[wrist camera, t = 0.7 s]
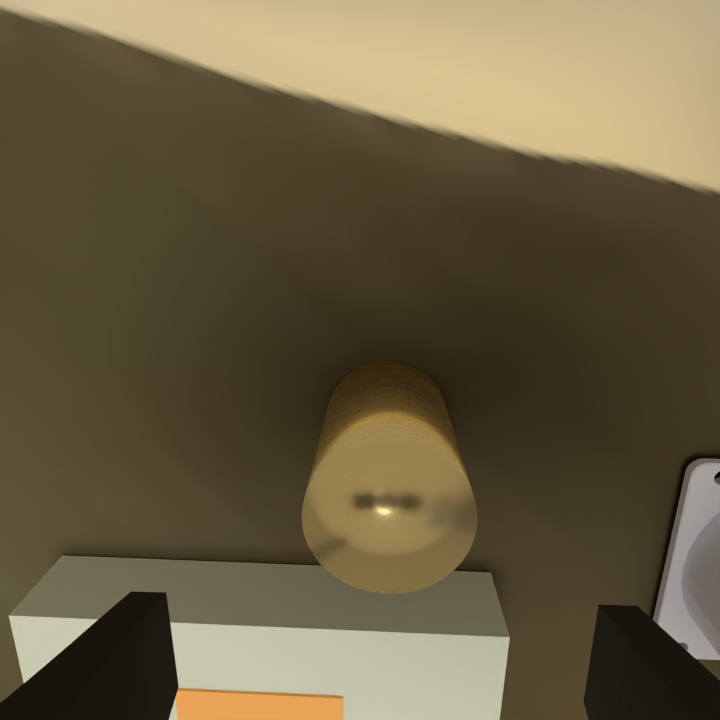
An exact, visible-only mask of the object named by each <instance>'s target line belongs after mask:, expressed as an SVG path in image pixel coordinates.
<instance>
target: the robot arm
mask: <svg viewBox="0 0 720 720" xmlns="http://www.w3.org/2000/svg"><path fill="white" fill-rule="evenodd" d="M718 472H720V459H706V458H703V459H697V460H695V461H693V462H692V463H691V464H690V465H689V466H688V467H687V469H686V471H685V476H684V480H683V485H682V490H681V494H680V499H679V503H678V508H677V512H676V517H675V521H674V526H673V530H672V535H671V539H670V544H669V549H668V553H667V558H666V562H665V567H664V571H663V576H662V580H661V585H660V589H659V594H658V598H657V603H656V608H655V612H654V617H653V620H652V619H651V618H650V617H649V616H648V615H647V614H646V613H645V612H643V611H642V610H641V609H640V608H639V607H638V606H621V605H599V607H598V614H597V620H596V626H595V633H594V639H593V645H592V652H591V658H590V664H589V671H588V677H587V683H586V690H585V696H584V704H585V708H586V711H587V715H588V718H589V720H720V681H719V680H718V679H717V678H716V677H715V676H714V675H713V674H712V673H711V672H710V671H708V670H707V669H706V668H705V667H704V666H703V665H702V664H701V663H700V662H699V661H697V660H696V659H710V660H720V477H719V478H716V479H714V477H715V475H716V474H717V473H718ZM679 643H680V644H679ZM178 687H179V685H178V678H177V670H176V662H175V655H174V647H173V640H172V632H171V625H170V617H169V609H168V602H167V594H166V592H135V591H131V592H130V593H129V594H127V595H126V596H125V597H124V598H123V599H121V600H120V601H119V602H118V603H117V604H115V605H114V606H113V607H112V608H111V609H110V610H109V611H107V612H106V613H105V614H104V615H103V616H102V617H101V618H99V619H98V620H97V621H96V622H95V623H94V624H92V625H91V626H90V627H89V628H88V629H87V630H86V631H85V632H83V633H82V634H81V635H80V636H79V637H78V638H76V639H75V640H74V641H73V642H72V643H71V644H70V645H68V646H67V647H66V648H65V649H64V650H63V651H62V652H60V653H59V654H58V655H57V656H56V657H54V658H53V659H52V660H51V661H50V662H49V663H47V664H46V665H45V666H44V667H43V668H42V669H40V670H39V671H38V672H37V673H36V674H34V675H33V676H32V677H31V678H30V679H29V680H27V681H26V682H25V683H24V684H23V685H22V686H20V687H19V688H18V689H17V690H16V691H15V692H13V693H12V694H11V695H10V696H8V697H7V698H6V699H5V700H4V701H2V702H1V703H0V720H169V717H170V714H171V710H172V707H173V704H174V701H175V697H176V694H177V691H178Z"/></svg>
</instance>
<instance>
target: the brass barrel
mask: <svg viewBox="0 0 720 720" xmlns="http://www.w3.org/2000/svg"><path fill="white" fill-rule="evenodd" d="M302 527H303V532H304V536H305V539H306V542H307V544H308V546H309V548H310V550H311V552H312V554H313V555H314V557H315V558H316V559H317V561H318V562H319V563H320V564H321V565H322V566H323V567H324V568H325V569H326V570H327V571H328V572H329V573H330V574H332V575H333V576H334V577H336V578H337V579H339V580H341V581H342V582H344V583H346V584H348V585H350V586H353V587H355V588H358V589H361V590H364V591H369V592H373V593H382V594H400V593H408V592H412V591H416V590H420V589H423V588H426V587H428V586H431V585H433V584H435V583H437V582H439V581H440V580H442V579H443V578H445V577H446V576H448V575H449V574H450V573H451V572H452V571H454V570H455V569H456V568H457V567H458V565H459V564H460V563H461V562H462V561H463V559H464V558H465V557H466V555H467V554H468V552H469V550H470V548H471V546H472V544H473V541H474V538H475V535H476V529H477V508H476V503H475V500H474V496H473V493H472V490H471V486H470V483H469V480H468V477H467V473H466V470H465V467H464V464H463V460H462V457H461V454H460V451H459V447H458V444H457V441H456V438H455V434H454V431H453V428H452V425H451V421H450V418H449V415H448V412H447V408H446V405H445V402H444V399H443V396H442V394H441V392H440V390H439V388H438V387H437V385H436V384H435V383H434V382H433V380H432V379H431V378H430V377H429V376H427V375H426V374H425V373H424V372H422V371H421V370H419V369H418V368H416V367H414V366H412V365H409V364H406V363H402V362H398V361H376V362H371V363H368V364H365V365H362V366H360V367H358V368H356V369H354V370H353V371H351V372H350V373H349V374H347V375H346V376H345V377H344V378H343V379H342V380H341V381H340V382H339V384H338V385H337V386H336V388H335V389H334V391H333V393H332V395H331V398H330V401H329V404H328V408H327V412H326V416H325V420H324V424H323V428H322V432H321V436H320V440H319V443H318V447H317V451H316V455H315V459H314V463H313V467H312V471H311V475H310V478H309V482H308V486H307V490H306V494H305V498H304V503H303V507H302Z"/></svg>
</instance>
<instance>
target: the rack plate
mask: <svg viewBox="0 0 720 720" xmlns="http://www.w3.org/2000/svg"><path fill="white" fill-rule="evenodd" d="M131 591H135V592H166V594H167V602H168V609H169V617H170V625H171V632H172V640H173V647H174V655H175V662H176V670H177V678H178V685H179V687H178V691H177V694H176V697H175V701H174V704H173V707H172V710H171V714H170V717H169V720H500V711H501V703H502V695H503V687H504V679H505V671H506V663H507V655H508V647H509V639H510V637H509V633H508V630H507V626H506V623H505V619H504V616H503V613H502V609H501V606H500V602H499V599H498V595H497V592H496V589H495V585H494V582H493V578H492V575H491V572H470V571H452V572H451V573H450V574H449V575H448V576H446V577H445V578H443V579H442V580H440V581H439V582H437V583H435V584H433V585H431V586H428V587H426V588H423V589H420V590H416V591H412V592H408V593H400V594H382V593H373V592H369V591H364V590H361V589H358V588H355V587H353V586H350V585H348V584H346V583H344V582H342V581H341V580H339V579H337V578H336V577H334V576H333V575H332V574H330V573H329V572H328V571H327V570H326V569H325V568H324V567H323V566H318V565H293V564H268V563H242V562H217V561H192V560H166V559H141V558H116V557H90V556H65V555H62V557H61V558H60V559H59V560H58V561H57V562H56V563H55V564H54V566H53V567H52V568H51V569H50V570H49V571H48V572H47V573H46V575H45V576H44V577H43V578H42V579H41V580H40V581H39V582H38V583H37V585H36V586H35V587H34V588H33V589H32V590H31V591H30V592H29V594H28V595H27V596H26V597H25V598H24V599H23V600H22V601H21V603H20V604H19V605H18V606H17V607H16V608H15V609H14V610H13V612H12V613H11V614H10V615H9V618H10V623H11V627H12V632H13V636H14V641H15V645H16V650H17V654H18V659H19V664H20V668H21V673H22V677H23V682H24V683H25V682H26V681H27V680H29V679H30V678H31V677H32V676H33V675H34V674H36V673H37V672H38V671H39V670H40V669H42V668H43V667H44V666H45V665H46V664H47V663H49V662H50V661H51V660H52V659H53V658H54V657H56V656H57V655H58V654H59V653H60V652H62V651H63V650H64V649H65V648H66V647H67V646H68V645H70V644H71V643H72V642H73V641H74V640H75V639H76V638H78V637H79V636H80V635H81V634H82V633H83V632H85V631H86V630H87V629H88V628H89V627H90V626H91V625H92V624H94V623H95V622H96V621H97V620H98V619H99V618H101V617H102V616H103V615H104V614H105V613H106V612H107V611H109V610H110V609H111V608H112V607H113V606H114V605H115V604H117V603H118V602H119V601H120V600H121V599H123V598H124V597H125V596H126V595H127V594H129V593H130V592H131Z"/></svg>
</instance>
